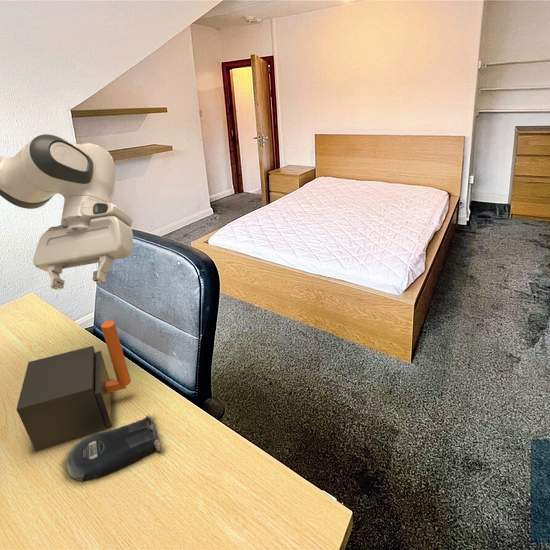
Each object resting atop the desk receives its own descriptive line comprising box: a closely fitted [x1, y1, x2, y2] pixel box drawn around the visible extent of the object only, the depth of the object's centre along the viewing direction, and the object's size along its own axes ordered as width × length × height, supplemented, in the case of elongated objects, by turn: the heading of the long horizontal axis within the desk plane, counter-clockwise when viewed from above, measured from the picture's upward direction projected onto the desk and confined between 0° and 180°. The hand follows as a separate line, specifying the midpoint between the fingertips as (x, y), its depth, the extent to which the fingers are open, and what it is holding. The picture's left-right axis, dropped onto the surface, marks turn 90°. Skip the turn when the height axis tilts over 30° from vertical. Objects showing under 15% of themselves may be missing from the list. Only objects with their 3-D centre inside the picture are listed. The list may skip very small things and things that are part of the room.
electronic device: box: [65, 413, 161, 482], centre depth 72 cm, size 9×6×15 cm
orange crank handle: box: [94, 320, 132, 428], centre depth 78 cm, size 16×14×18 cm
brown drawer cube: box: [15, 345, 107, 452], centre depth 79 cm, size 12×14×11 cm
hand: (77, 285), depth 76 cm, fingers open, 8 cm apart
